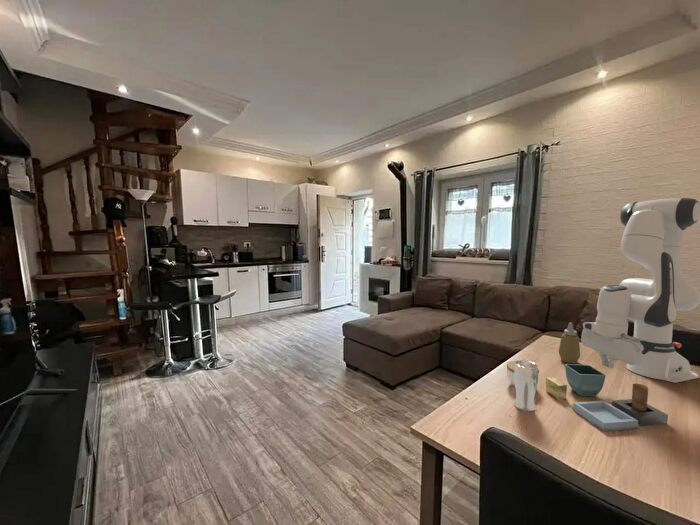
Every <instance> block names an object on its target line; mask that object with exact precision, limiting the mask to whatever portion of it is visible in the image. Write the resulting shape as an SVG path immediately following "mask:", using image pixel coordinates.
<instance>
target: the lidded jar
mask: <svg viewBox="0 0 700 525" xmlns="http://www.w3.org/2000/svg"><path fill="white" fill-rule="evenodd" d="M516 361H517V360H516ZM516 361H515V360H514V361H509V362H507V363H506V374H507V375H506V376H507V378H508V380H509V382H510V383H511V384H512V385H513V387H514V388H515V382H514V368H515V362H516ZM539 373H540V369H539V368H538V375H539Z"/></svg>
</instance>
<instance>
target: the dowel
mask: <svg viewBox="0 0 700 525" xmlns="http://www.w3.org/2000/svg"><path fill="white" fill-rule="evenodd" d="M631 392H632V393H631V399H632V405H631V408H633V409H635V410H637V411H639V412H647V404H648V397H649V387H648V386H647V385H644V384H641V383H632V391H631Z"/></svg>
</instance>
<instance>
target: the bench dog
mask: <svg viewBox="0 0 700 525" xmlns="http://www.w3.org/2000/svg"><path fill="white" fill-rule="evenodd" d="M567 386H568V385H567V384H566V383H564V382H562V381H561V380H559V379H557V378H556V377H553V376H551V377H550V376H549V377H546V378H545V391H546V392H547V393H549V394H550V395H552V397H554V398H556V399H557V400H563V399H567V388H568V387H567Z"/></svg>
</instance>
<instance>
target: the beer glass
mask: <svg viewBox="0 0 700 525" xmlns="http://www.w3.org/2000/svg"><path fill="white" fill-rule="evenodd" d="M538 369H539V366H538V364H537V363H536V362H532V361H530V360H525V359H517V360H516V362H515V368H514V382H515V387H514V388H515V398H514V399H515V400H514V406H515V407H516V408H517V409H519V410H521V411H523V412H528V413H529V412H534V411H535V410H536V406H535V395H536V390H537V388H538V387H537V386H538V382H539V374H538Z"/></svg>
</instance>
